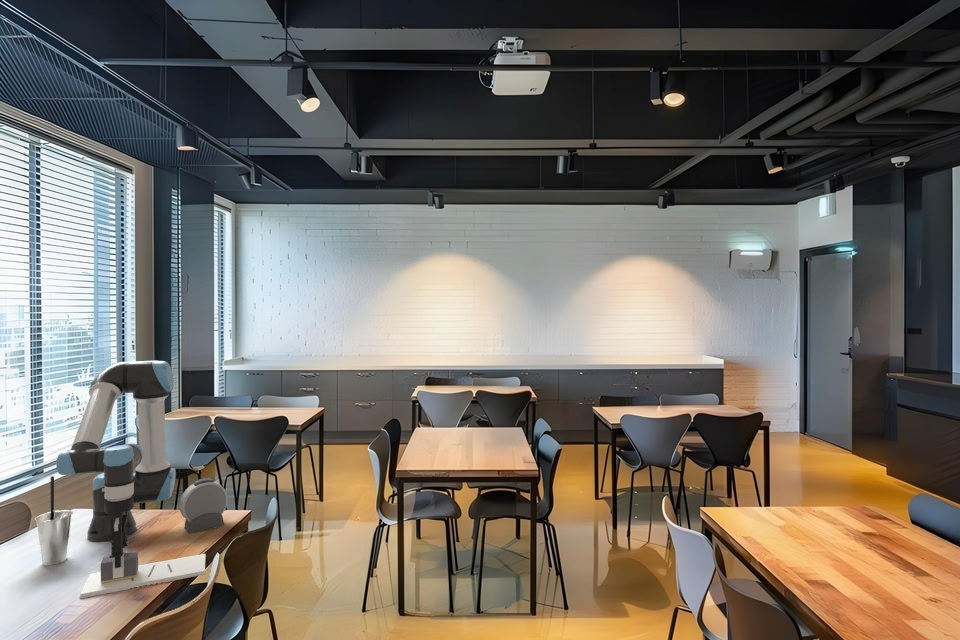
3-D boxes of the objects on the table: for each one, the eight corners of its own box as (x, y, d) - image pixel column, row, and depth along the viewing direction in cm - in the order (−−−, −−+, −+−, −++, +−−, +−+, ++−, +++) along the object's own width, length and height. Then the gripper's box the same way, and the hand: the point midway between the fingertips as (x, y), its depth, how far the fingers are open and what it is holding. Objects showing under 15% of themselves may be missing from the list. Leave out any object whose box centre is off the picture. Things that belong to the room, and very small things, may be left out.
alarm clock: (222, 517, 219) (221, 472, 219) (230, 524, 212) (230, 477, 212) (177, 528, 208) (177, 480, 208) (184, 535, 201) (184, 486, 201)
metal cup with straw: (53, 570, 174) (52, 477, 173) (24, 567, 176) (23, 475, 176) (84, 556, 184) (83, 467, 184) (56, 553, 186) (55, 466, 186)
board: (90, 577, 169) (90, 573, 169) (205, 557, 182) (205, 553, 182) (80, 598, 156) (80, 594, 156) (204, 574, 170) (204, 570, 170)
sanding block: (103, 576, 166) (103, 557, 166) (138, 570, 170) (137, 551, 170) (100, 583, 162) (100, 563, 162) (136, 577, 166) (135, 557, 166)
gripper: (109, 490, 172) (110, 563, 173) (98, 508, 156) (99, 589, 156) (137, 487, 176) (138, 559, 176) (129, 504, 160) (130, 583, 160)
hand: (119, 573), depth 166 cm, fingers closed on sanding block, 5 cm apart
